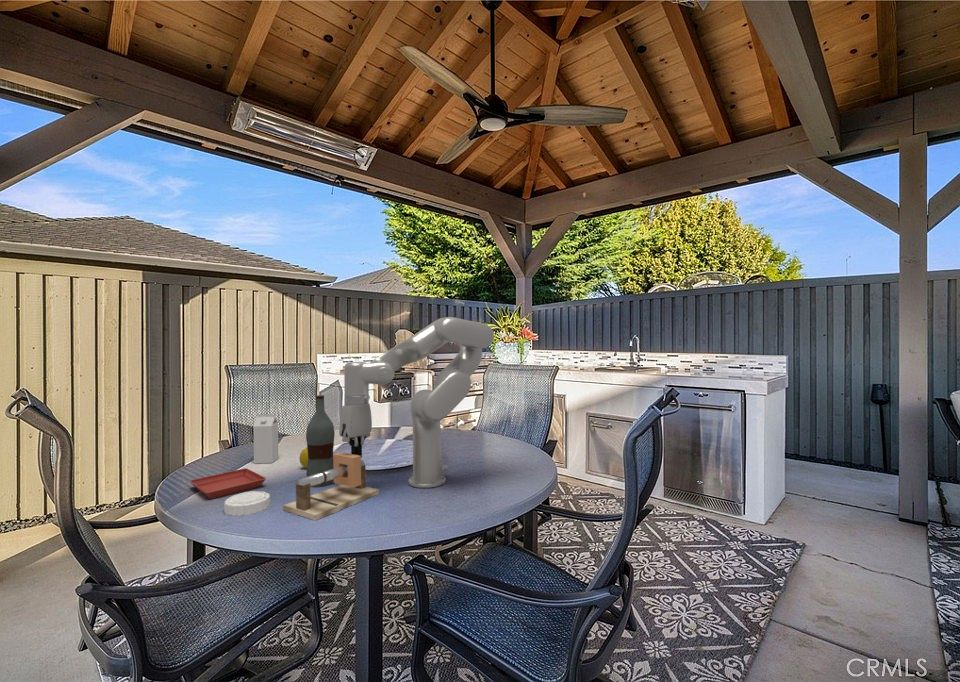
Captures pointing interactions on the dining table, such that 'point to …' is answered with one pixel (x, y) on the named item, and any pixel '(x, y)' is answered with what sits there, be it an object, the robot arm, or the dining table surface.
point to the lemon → (304, 457)
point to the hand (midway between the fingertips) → (356, 457)
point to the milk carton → (265, 438)
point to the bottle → (320, 442)
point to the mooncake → (246, 503)
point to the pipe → (325, 476)
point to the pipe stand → (329, 499)
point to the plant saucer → (228, 483)
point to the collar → (353, 469)
